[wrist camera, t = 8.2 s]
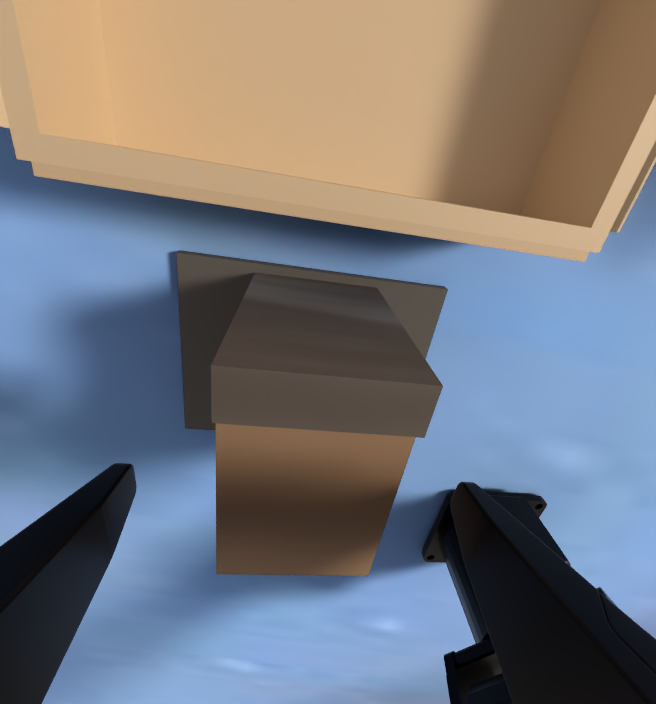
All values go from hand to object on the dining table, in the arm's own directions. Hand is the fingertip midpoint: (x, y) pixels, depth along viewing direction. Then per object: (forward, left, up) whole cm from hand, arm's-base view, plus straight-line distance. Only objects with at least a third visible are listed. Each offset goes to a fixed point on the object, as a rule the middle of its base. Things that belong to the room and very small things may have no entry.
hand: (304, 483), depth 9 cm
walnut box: (0, 0, -7) cm, 7 cm away
